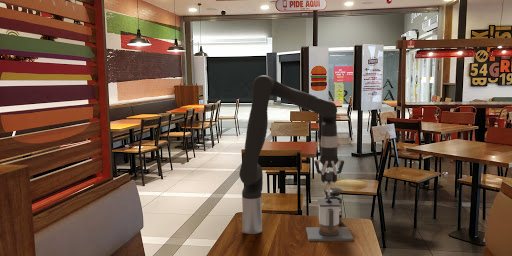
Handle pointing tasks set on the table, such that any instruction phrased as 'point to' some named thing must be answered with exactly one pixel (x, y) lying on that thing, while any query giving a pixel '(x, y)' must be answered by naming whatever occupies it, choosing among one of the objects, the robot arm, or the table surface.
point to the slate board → (315, 236)
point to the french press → (335, 193)
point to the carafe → (329, 217)
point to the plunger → (329, 178)
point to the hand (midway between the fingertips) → (329, 182)
